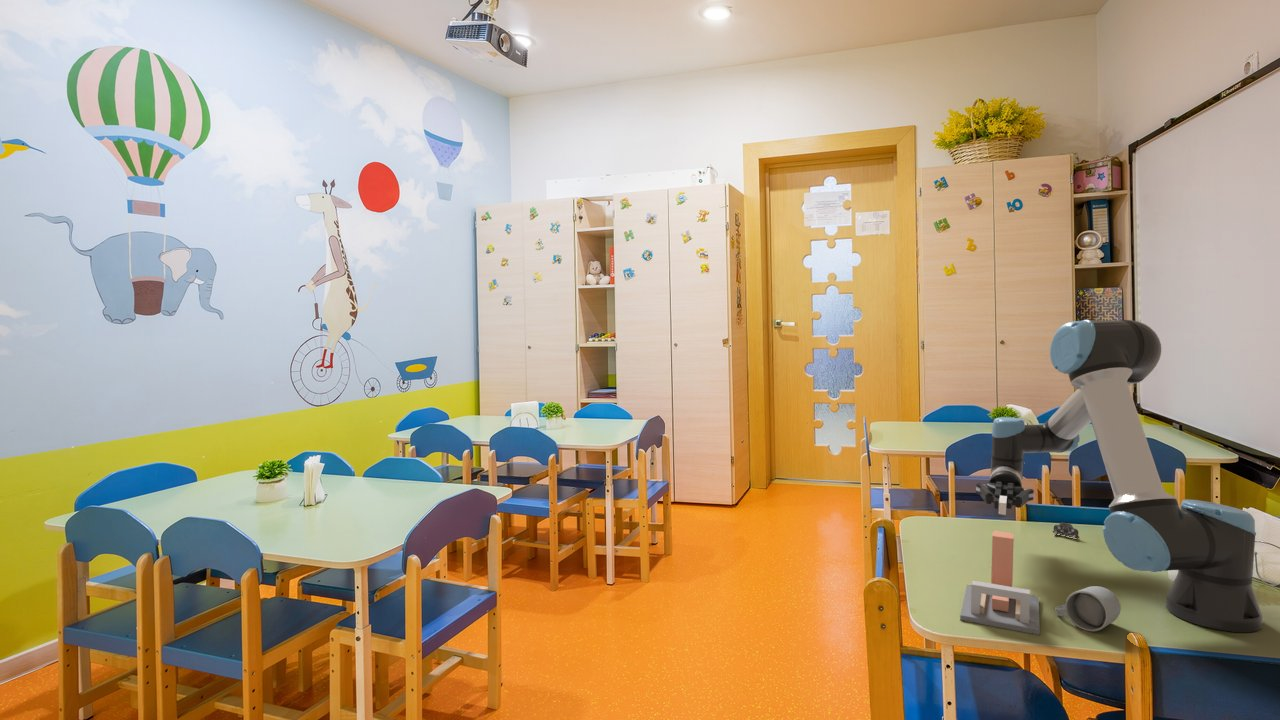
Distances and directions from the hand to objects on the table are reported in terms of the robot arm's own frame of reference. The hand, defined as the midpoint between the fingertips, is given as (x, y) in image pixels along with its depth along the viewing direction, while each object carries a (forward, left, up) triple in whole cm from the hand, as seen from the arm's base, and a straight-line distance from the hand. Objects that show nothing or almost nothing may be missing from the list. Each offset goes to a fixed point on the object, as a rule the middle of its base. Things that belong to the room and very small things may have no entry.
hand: (1002, 508), depth 158 cm
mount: (-1, +15, -18) cm, 23 cm away
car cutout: (-19, -45, -19) cm, 52 cm away
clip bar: (-1, +13, -17) cm, 21 cm away
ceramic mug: (-16, +14, -18) cm, 28 cm away
